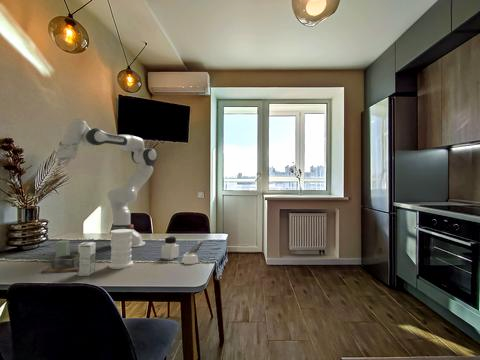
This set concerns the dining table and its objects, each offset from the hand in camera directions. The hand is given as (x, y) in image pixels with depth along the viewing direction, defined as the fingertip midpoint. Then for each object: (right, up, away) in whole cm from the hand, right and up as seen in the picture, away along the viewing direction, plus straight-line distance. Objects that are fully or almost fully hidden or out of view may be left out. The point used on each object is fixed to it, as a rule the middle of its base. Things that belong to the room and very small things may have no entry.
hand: (61, 165), depth 169 cm
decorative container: (+42, -53, -19) cm, 70 cm away
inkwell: (+78, -53, -7) cm, 95 cm away
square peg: (+6, -52, -8) cm, 53 cm away
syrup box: (+32, -52, -33) cm, 69 cm away
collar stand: (+16, -52, -22) cm, 59 cm away
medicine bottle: (+63, -53, -2) cm, 83 cm away
